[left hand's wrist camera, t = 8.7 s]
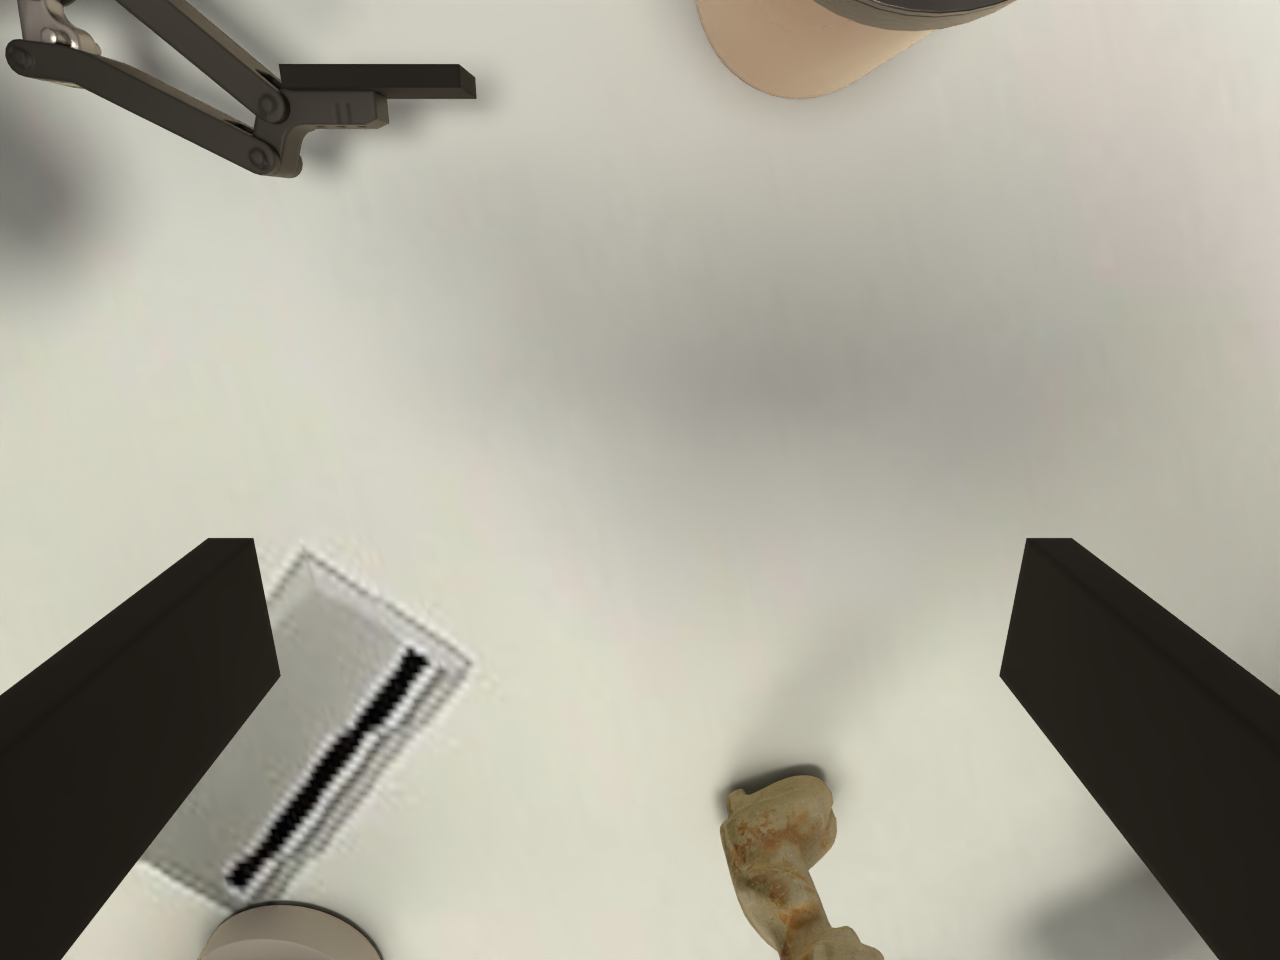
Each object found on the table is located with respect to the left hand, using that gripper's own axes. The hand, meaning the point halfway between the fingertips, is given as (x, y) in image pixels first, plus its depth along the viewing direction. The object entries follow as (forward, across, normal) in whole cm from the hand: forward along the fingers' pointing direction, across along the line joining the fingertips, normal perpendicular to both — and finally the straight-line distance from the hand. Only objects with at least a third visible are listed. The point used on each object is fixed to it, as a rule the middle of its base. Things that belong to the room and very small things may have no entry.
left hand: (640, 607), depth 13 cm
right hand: (+20, +6, -18) cm, 28 cm away
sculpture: (+26, -9, +29) cm, 40 cm away
